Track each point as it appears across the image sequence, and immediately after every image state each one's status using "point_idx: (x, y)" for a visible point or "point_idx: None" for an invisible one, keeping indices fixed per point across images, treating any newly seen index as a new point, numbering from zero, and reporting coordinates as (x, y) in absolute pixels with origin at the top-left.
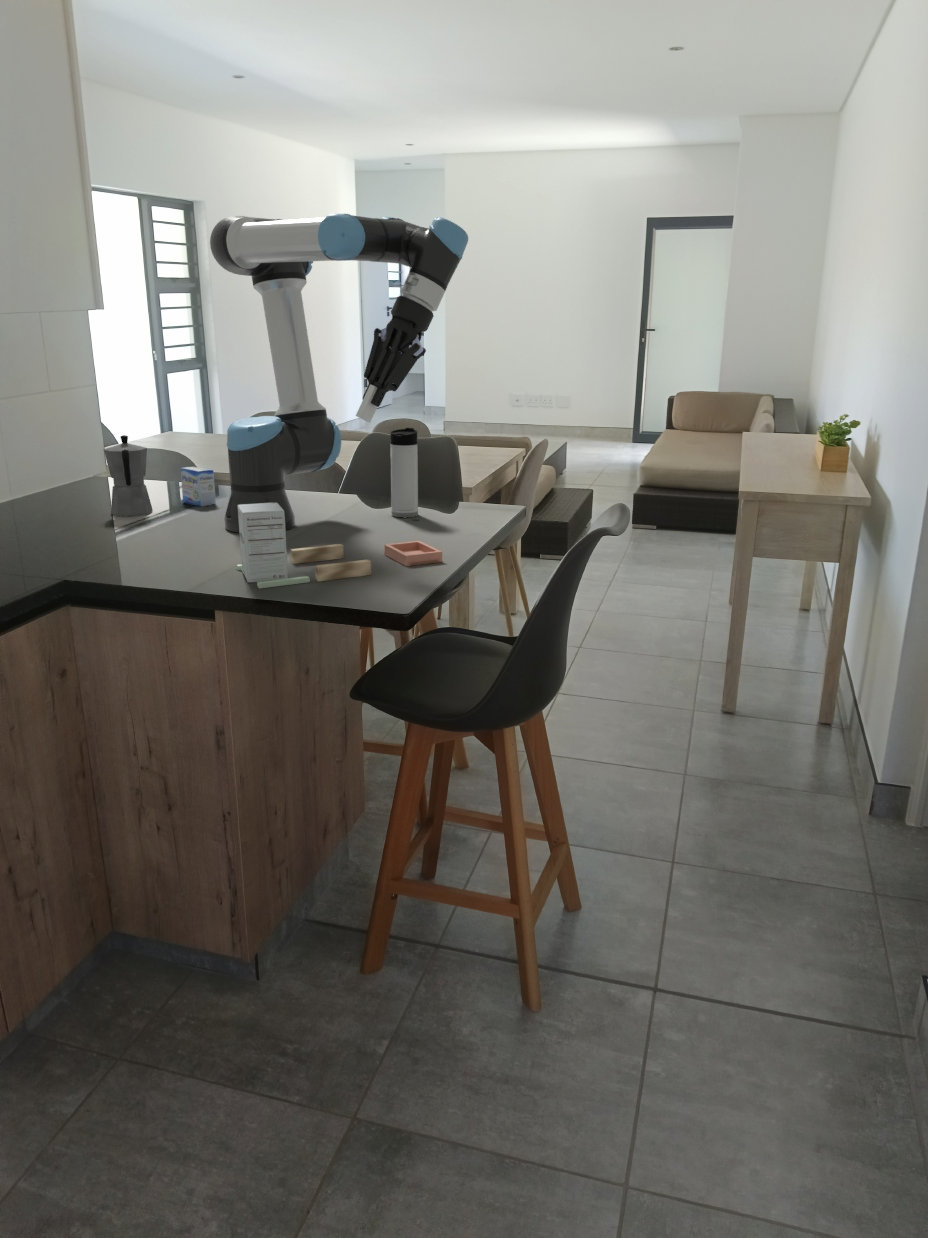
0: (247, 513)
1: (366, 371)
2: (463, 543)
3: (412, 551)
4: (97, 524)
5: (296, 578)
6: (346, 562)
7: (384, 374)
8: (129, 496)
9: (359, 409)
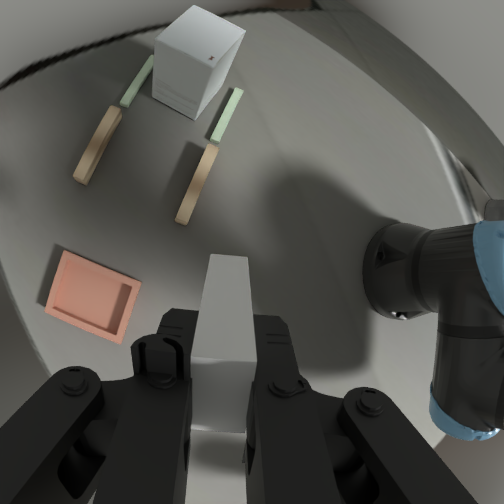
0: (189, 9)
1: (387, 420)
2: None
3: (109, 314)
4: (474, 165)
5: (130, 90)
6: (96, 147)
7: (129, 449)
8: (501, 206)
9: (241, 269)
